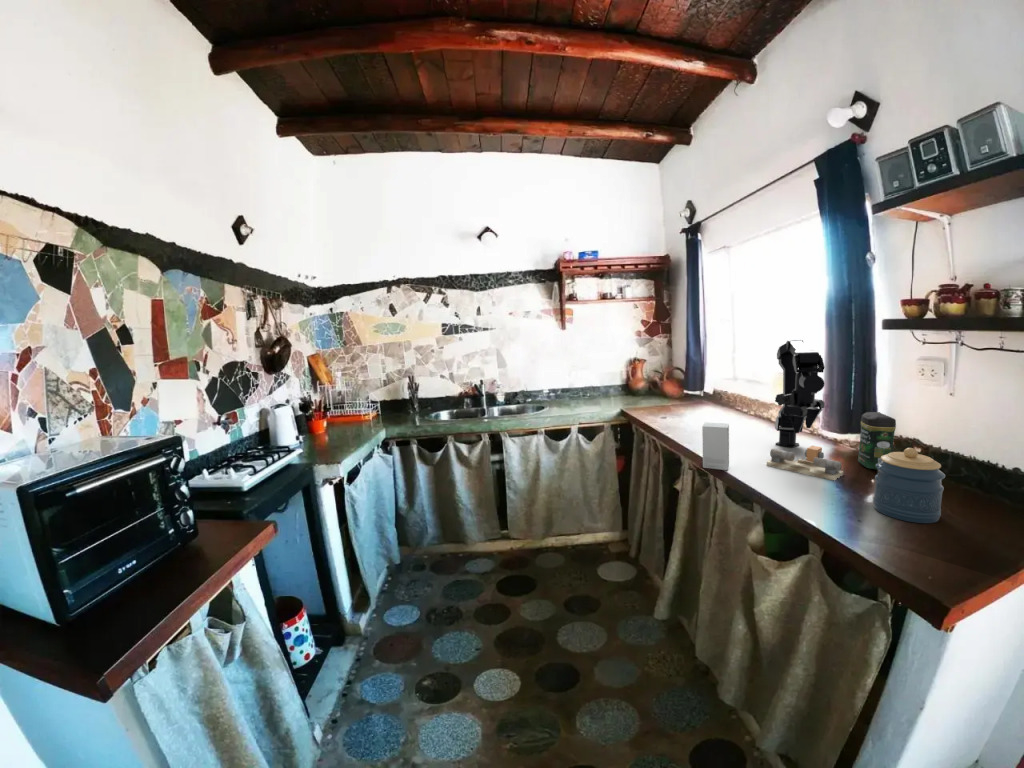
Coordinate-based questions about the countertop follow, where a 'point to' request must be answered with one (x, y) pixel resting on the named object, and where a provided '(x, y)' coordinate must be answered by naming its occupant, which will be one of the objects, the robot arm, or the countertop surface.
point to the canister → (909, 487)
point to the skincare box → (715, 445)
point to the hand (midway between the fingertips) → (802, 430)
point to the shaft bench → (806, 465)
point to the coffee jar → (875, 438)
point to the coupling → (813, 453)
